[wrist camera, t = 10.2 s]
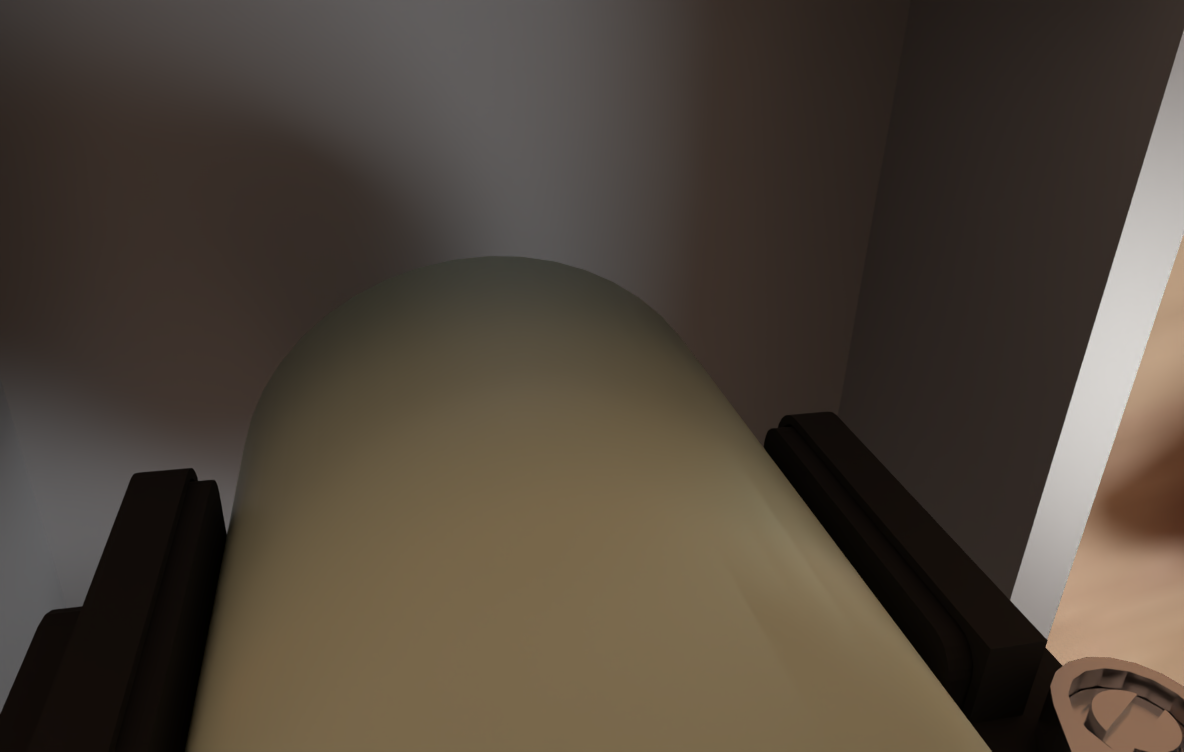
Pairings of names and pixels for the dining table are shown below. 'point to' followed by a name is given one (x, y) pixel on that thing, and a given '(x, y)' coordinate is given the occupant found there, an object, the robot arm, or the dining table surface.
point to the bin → (590, 227)
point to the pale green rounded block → (534, 547)
